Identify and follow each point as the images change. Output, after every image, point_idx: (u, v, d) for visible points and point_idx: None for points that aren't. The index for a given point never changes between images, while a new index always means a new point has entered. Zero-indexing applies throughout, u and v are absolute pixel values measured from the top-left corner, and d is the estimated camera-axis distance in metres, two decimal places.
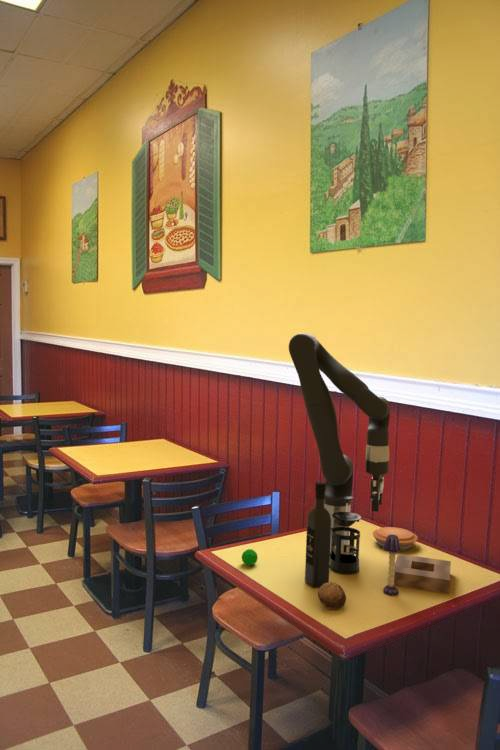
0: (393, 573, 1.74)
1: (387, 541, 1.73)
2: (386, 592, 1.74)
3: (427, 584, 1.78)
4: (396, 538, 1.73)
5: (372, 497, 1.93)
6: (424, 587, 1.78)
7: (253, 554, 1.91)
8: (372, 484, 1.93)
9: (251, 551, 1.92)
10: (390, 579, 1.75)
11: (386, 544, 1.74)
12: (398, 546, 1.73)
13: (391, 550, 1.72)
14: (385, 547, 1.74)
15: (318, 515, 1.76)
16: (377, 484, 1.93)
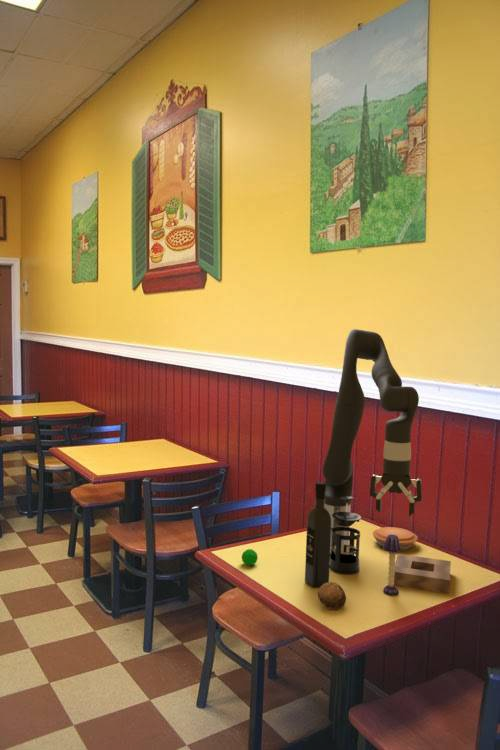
0: (393, 573, 1.74)
1: (387, 541, 1.73)
2: (386, 592, 1.74)
3: (427, 584, 1.78)
4: (396, 538, 1.73)
5: (421, 498, 1.71)
6: (424, 587, 1.78)
7: (253, 554, 1.91)
8: (421, 484, 1.71)
9: (251, 551, 1.92)
10: (390, 579, 1.75)
11: (386, 544, 1.74)
12: (398, 546, 1.73)
13: (391, 550, 1.72)
14: (385, 547, 1.74)
15: (318, 515, 1.76)
16: None
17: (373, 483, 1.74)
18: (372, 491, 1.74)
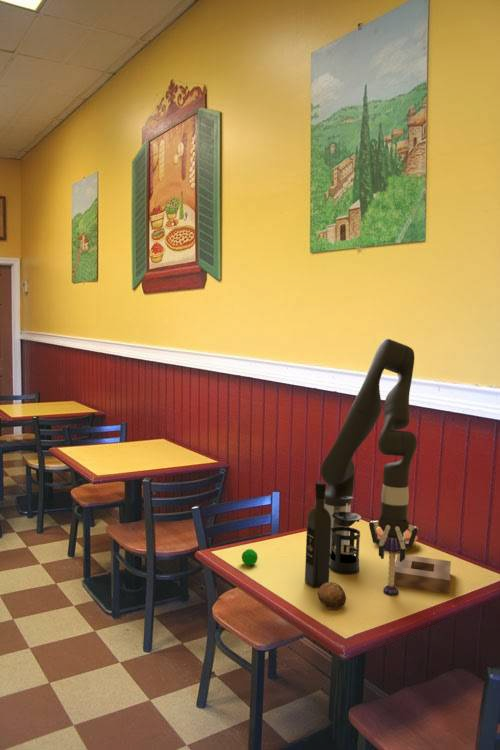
0: (393, 573, 1.74)
1: (387, 541, 1.73)
2: (386, 592, 1.74)
3: (427, 584, 1.78)
4: (396, 538, 1.73)
5: (411, 545, 1.72)
6: (424, 587, 1.78)
7: (253, 554, 1.91)
8: (416, 532, 1.71)
9: (251, 551, 1.92)
10: (390, 579, 1.75)
11: (386, 544, 1.74)
12: (398, 546, 1.73)
13: (391, 550, 1.72)
14: (385, 547, 1.74)
15: (318, 515, 1.76)
16: None
17: (372, 529, 1.75)
18: (374, 537, 1.75)
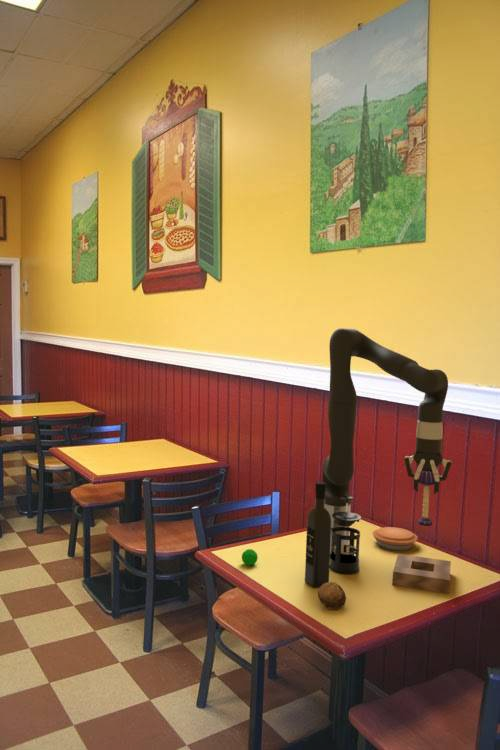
0: (427, 505, 1.84)
1: (422, 474, 1.83)
2: (421, 523, 1.84)
3: (427, 584, 1.78)
4: (430, 471, 1.82)
5: (445, 478, 1.82)
6: (424, 587, 1.78)
7: (253, 554, 1.91)
8: None
9: (251, 551, 1.92)
10: (424, 511, 1.84)
11: (421, 477, 1.83)
12: (432, 479, 1.82)
13: (426, 483, 1.82)
14: (420, 480, 1.83)
15: (318, 515, 1.76)
16: None
17: (408, 464, 1.84)
18: (409, 471, 1.84)
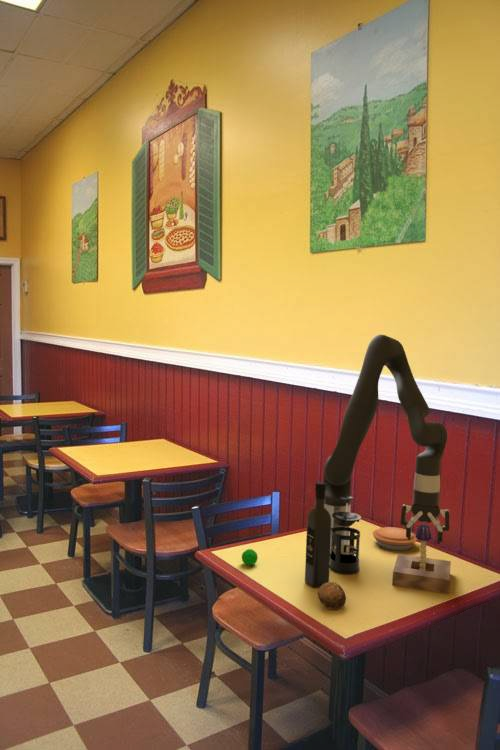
0: (424, 560, 1.85)
1: (419, 530, 1.84)
2: None
3: (427, 584, 1.78)
4: (427, 527, 1.84)
5: None
6: (424, 587, 1.78)
7: (253, 554, 1.91)
8: (449, 514, 1.82)
9: (251, 551, 1.92)
10: (422, 566, 1.85)
11: (418, 533, 1.84)
12: (429, 535, 1.84)
13: (423, 538, 1.83)
14: (417, 536, 1.84)
15: (318, 515, 1.76)
16: None
17: (404, 512, 1.85)
18: (403, 520, 1.86)
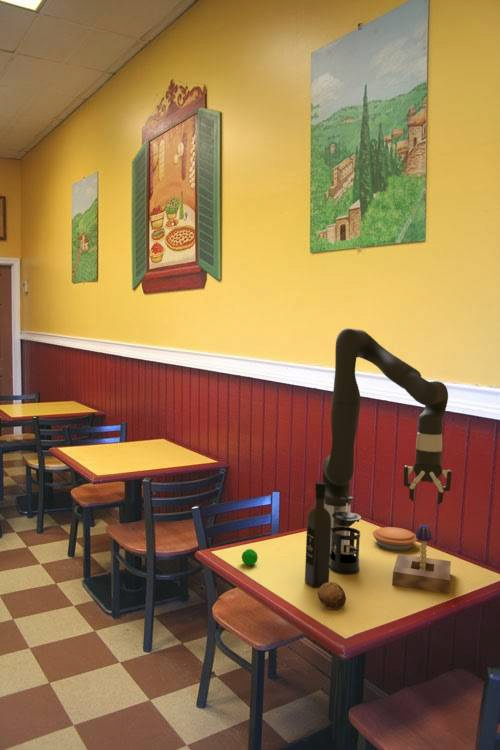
0: (424, 560, 1.85)
1: (419, 530, 1.84)
2: None
3: (427, 584, 1.78)
4: (427, 527, 1.84)
5: (449, 488, 1.81)
6: (424, 587, 1.78)
7: (253, 554, 1.91)
8: None
9: (251, 551, 1.92)
10: (422, 566, 1.85)
11: (418, 533, 1.84)
12: (429, 535, 1.83)
13: (423, 539, 1.83)
14: (417, 536, 1.84)
15: (318, 515, 1.76)
16: None
17: (406, 473, 1.85)
18: (406, 481, 1.85)
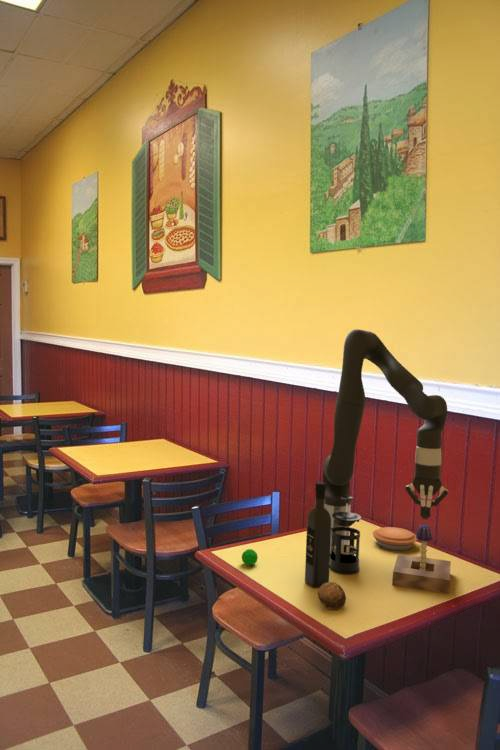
0: (425, 560, 1.85)
1: (419, 530, 1.84)
2: None
3: (427, 584, 1.78)
4: (428, 527, 1.84)
5: None
6: (424, 587, 1.78)
7: (253, 554, 1.91)
8: None
9: (251, 551, 1.92)
10: (422, 566, 1.85)
11: (418, 533, 1.84)
12: (430, 535, 1.83)
13: (423, 539, 1.83)
14: (417, 536, 1.84)
15: (318, 515, 1.76)
16: None
17: (410, 492, 1.85)
18: (415, 499, 1.84)
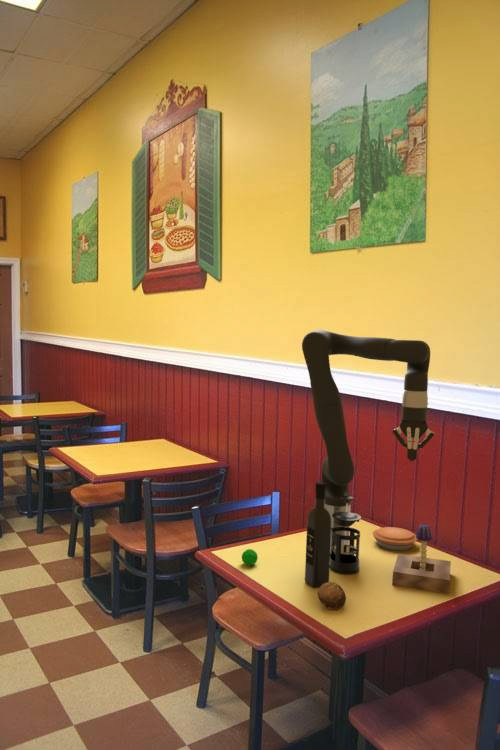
0: (425, 560, 1.85)
1: (419, 530, 1.84)
2: None
3: (427, 584, 1.78)
4: (428, 527, 1.84)
5: None
6: (424, 587, 1.78)
7: (253, 554, 1.91)
8: None
9: (251, 551, 1.92)
10: (422, 566, 1.85)
11: (418, 533, 1.84)
12: (430, 535, 1.83)
13: (423, 538, 1.83)
14: (417, 536, 1.84)
15: (318, 515, 1.76)
16: None
17: (398, 435, 1.90)
18: (402, 441, 1.89)
